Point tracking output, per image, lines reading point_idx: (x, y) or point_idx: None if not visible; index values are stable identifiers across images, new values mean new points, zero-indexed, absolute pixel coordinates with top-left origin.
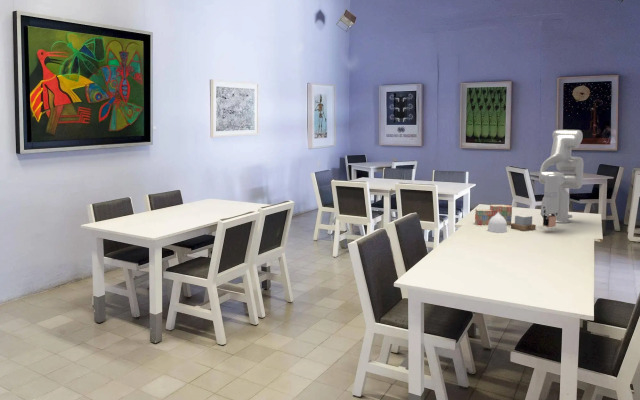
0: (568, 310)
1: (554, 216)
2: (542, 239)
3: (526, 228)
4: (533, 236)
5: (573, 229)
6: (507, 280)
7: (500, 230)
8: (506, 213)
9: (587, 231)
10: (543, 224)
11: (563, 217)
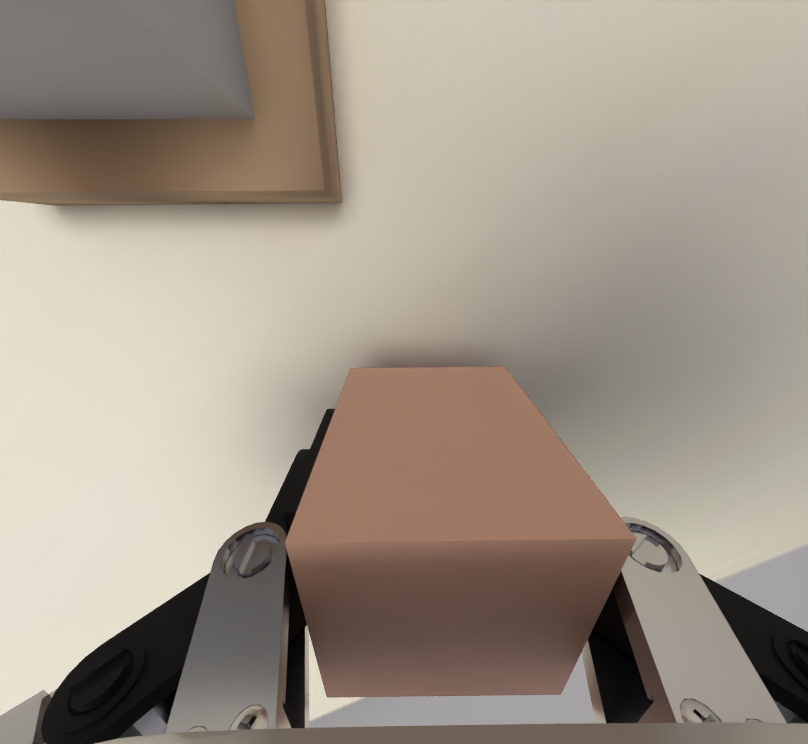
0: None
1: (530, 681)
2: (96, 583)
3: (86, 198)
4: (62, 489)
5: (781, 414)
6: None
7: None
8: None
9: (757, 519)
10: (328, 411)
11: None
